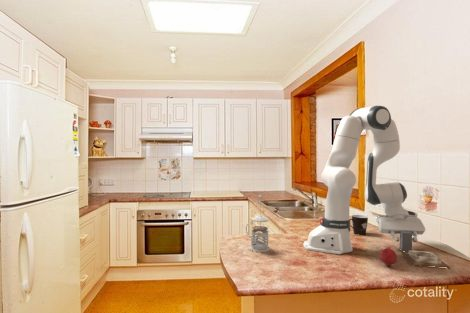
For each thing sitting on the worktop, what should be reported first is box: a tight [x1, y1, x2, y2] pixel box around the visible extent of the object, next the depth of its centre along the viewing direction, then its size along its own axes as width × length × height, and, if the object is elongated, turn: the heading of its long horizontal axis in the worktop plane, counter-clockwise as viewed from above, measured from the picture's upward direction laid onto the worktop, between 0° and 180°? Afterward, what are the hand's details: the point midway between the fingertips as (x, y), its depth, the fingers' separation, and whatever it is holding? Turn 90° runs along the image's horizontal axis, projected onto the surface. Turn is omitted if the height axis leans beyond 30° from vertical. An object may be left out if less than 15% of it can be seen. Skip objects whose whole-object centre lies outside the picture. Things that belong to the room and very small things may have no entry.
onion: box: [379, 245, 398, 267], centre depth 113 cm, size 6×6×8 cm
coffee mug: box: [349, 214, 369, 236], centre depth 163 cm, size 12×9×10 cm
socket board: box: [401, 249, 450, 269], centre depth 119 cm, size 13×13×3 cm
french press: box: [245, 195, 271, 253], centre depth 134 cm, size 10×12×25 cm
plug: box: [399, 231, 413, 253], centre depth 132 cm, size 4×4×9 cm
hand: (406, 241), depth 132 cm, fingers open, 7 cm apart
